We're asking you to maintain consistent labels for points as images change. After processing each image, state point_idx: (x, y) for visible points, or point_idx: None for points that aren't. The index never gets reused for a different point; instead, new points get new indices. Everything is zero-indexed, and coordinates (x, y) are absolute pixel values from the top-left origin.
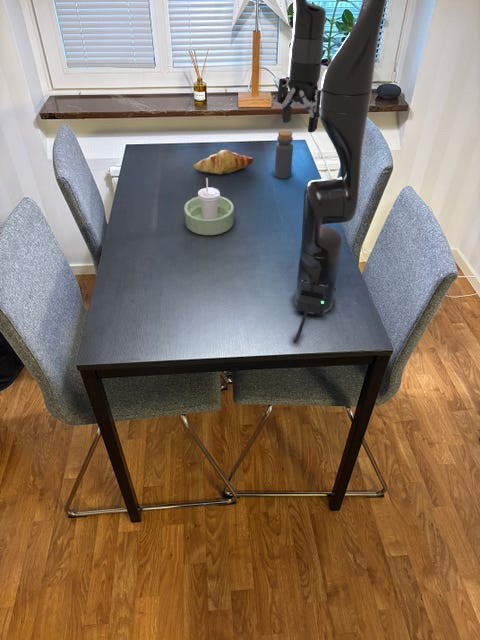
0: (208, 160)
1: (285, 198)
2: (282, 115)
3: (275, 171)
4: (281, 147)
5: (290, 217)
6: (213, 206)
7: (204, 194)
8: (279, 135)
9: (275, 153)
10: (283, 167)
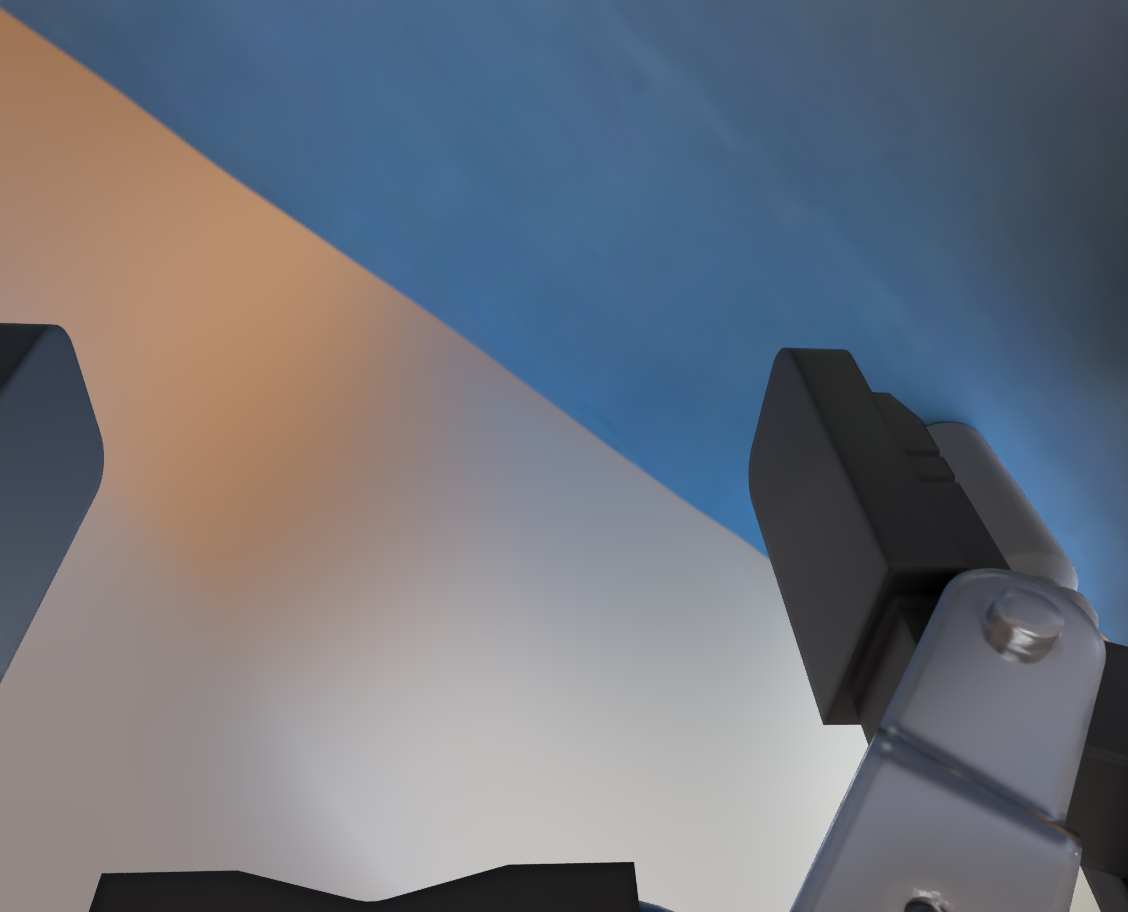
0: None
1: (769, 273)
2: (934, 445)
3: (977, 442)
4: (1019, 565)
5: (600, 109)
6: None
7: None
8: None
9: (1042, 523)
10: None
